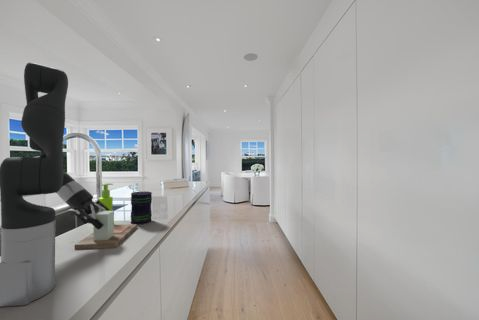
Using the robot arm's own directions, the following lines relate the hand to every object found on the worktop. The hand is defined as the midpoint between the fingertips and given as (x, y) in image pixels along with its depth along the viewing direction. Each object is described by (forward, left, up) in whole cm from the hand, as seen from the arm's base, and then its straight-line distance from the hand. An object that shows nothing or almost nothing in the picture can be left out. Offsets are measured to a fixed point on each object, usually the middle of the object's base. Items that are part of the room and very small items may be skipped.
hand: (107, 224), depth 81 cm
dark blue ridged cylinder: (+25, -5, -7) cm, 26 cm away
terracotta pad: (+9, +1, -5) cm, 11 cm away
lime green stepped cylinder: (+23, +11, -7) cm, 27 cm away
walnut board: (+5, +1, -7) cm, 9 cm away
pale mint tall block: (0, +1, -5) cm, 6 cm away
